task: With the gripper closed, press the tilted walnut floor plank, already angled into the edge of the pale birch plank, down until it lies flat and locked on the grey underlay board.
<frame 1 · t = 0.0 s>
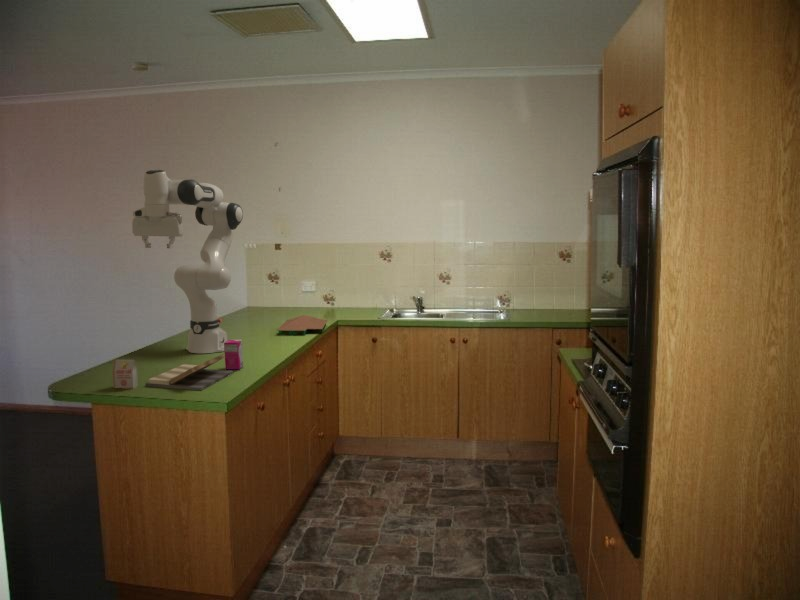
hand: (158, 248, 220), 48 cm above the countertop, tool pointing down, fingers open, 8 cm apart
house: (303, 330, 308), on the countertop
supplement box: (234, 369, 226), on the countertop
floor board: (191, 379, 210), on the countertop
walnut plank: (198, 368, 209), point 4 cm above the countertop, hinge at 30.0°
white food carton: (126, 387, 200), on the countertop
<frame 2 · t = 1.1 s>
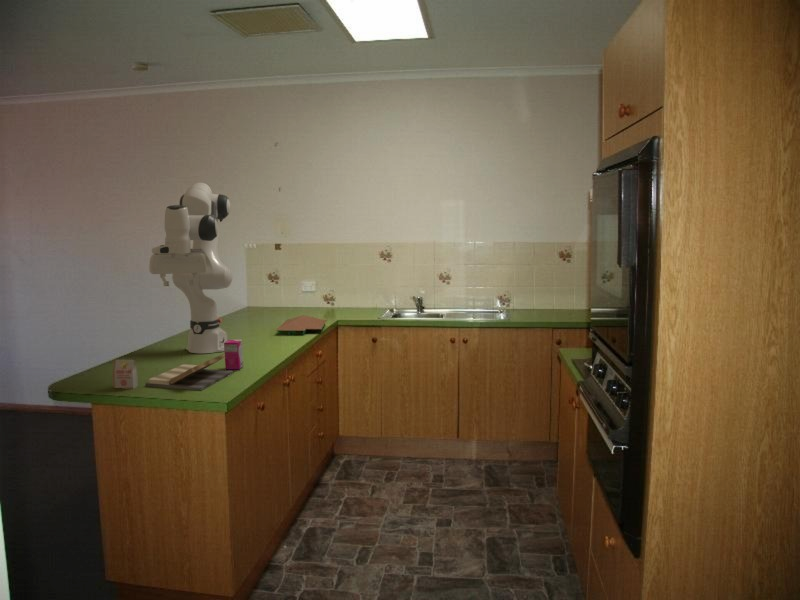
hand: (179, 285, 212), 34 cm above the countertop, tool pointing down, fingers open, 8 cm apart
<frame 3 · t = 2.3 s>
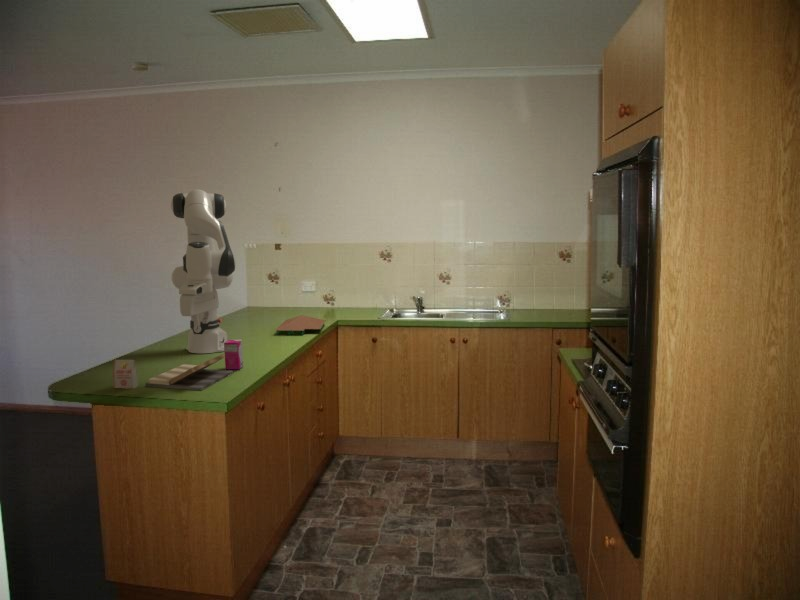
hand: (201, 324, 206), 21 cm above the countertop, tool pointing down, fingers open, 4 cm apart
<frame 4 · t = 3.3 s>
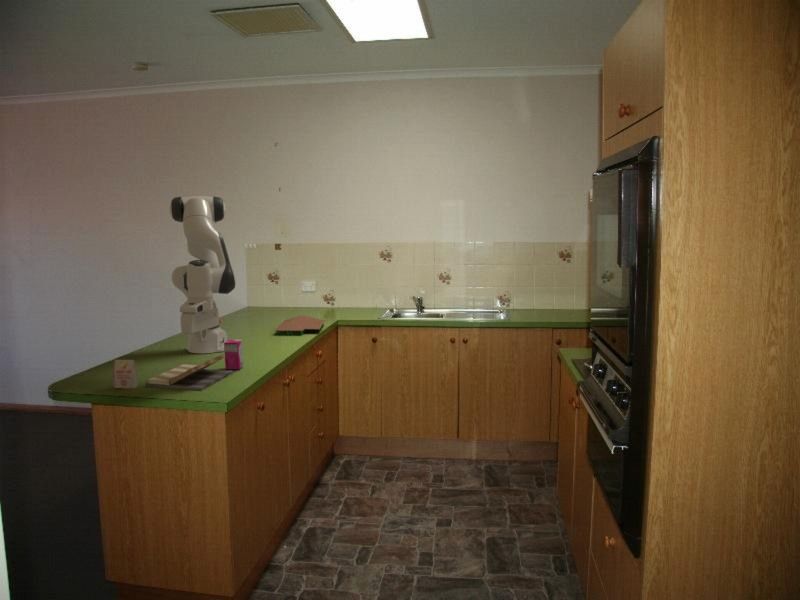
hand: (201, 342, 207), 15 cm above the countertop, tool pointing down, fingers closed
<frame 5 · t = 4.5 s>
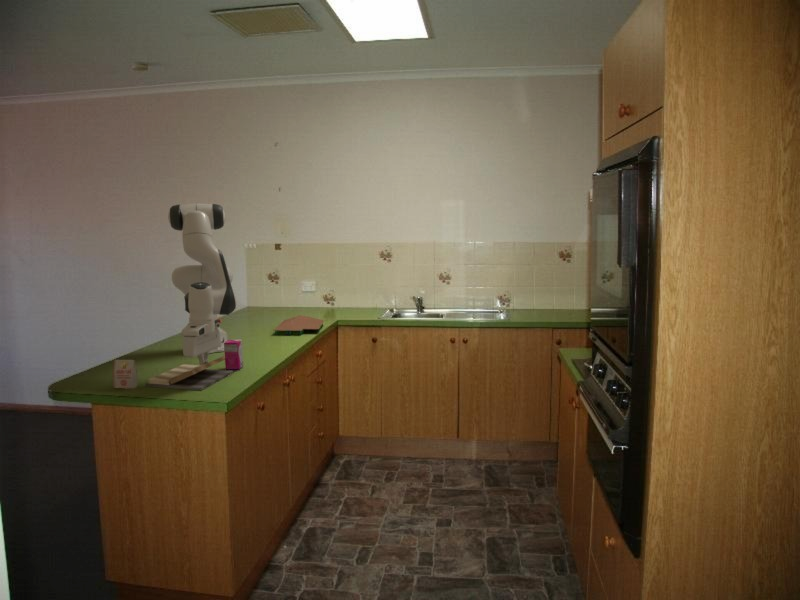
hand: (203, 364, 208), 6 cm above the countertop, tool pointing down, fingers closed, pressing on walnut plank
walnut plank: (198, 369, 209), point 4 cm above the countertop, hinge at 25.3°, touching gripper
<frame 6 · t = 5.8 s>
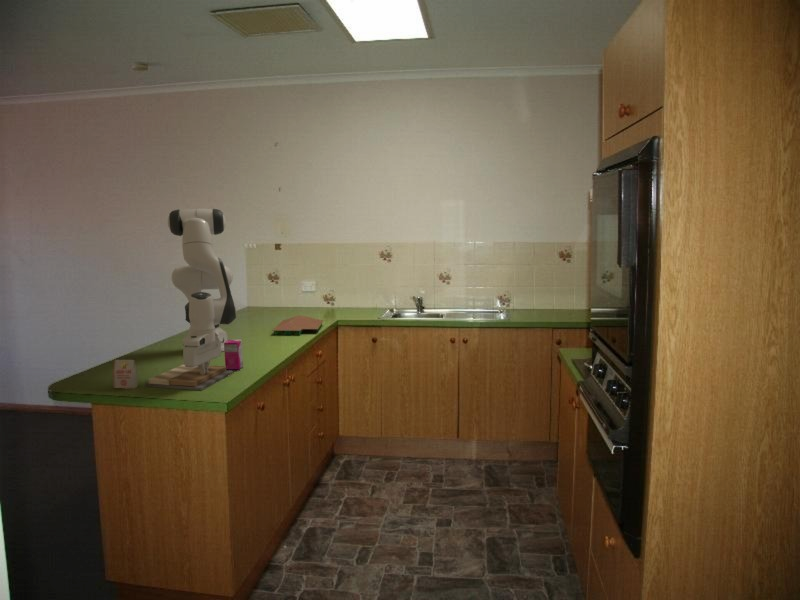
hand: (204, 373, 208), 3 cm above the countertop, tool pointing down, fingers closed, pressing on walnut plank
walnut plank: (199, 375, 209), point 2 cm above the countertop, hinge at 0.8°, touching gripper
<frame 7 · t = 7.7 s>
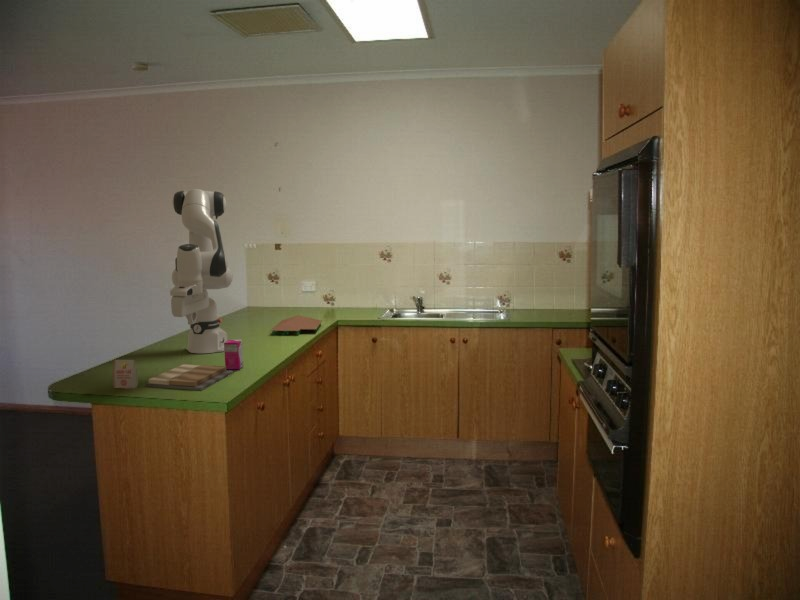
hand: (192, 323, 214), 20 cm above the countertop, tool pointing down, fingers closed
walnut plank: (199, 375, 209), point 2 cm above the countertop, hinge at 0.7°
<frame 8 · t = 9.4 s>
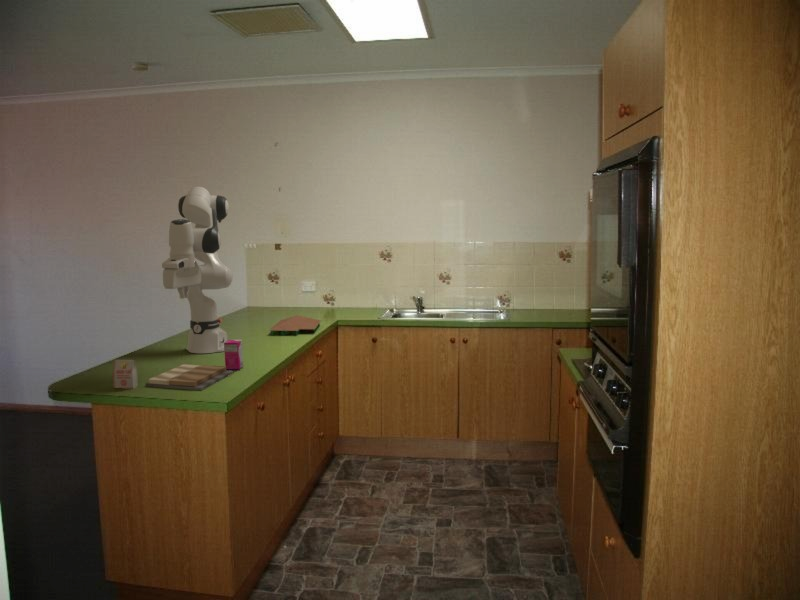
hand: (183, 298, 217), 29 cm above the countertop, tool pointing down, fingers closed
at the end: walnut plank at +1° (first picture: +30°); white food carton moved 0.3 cm from its start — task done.
